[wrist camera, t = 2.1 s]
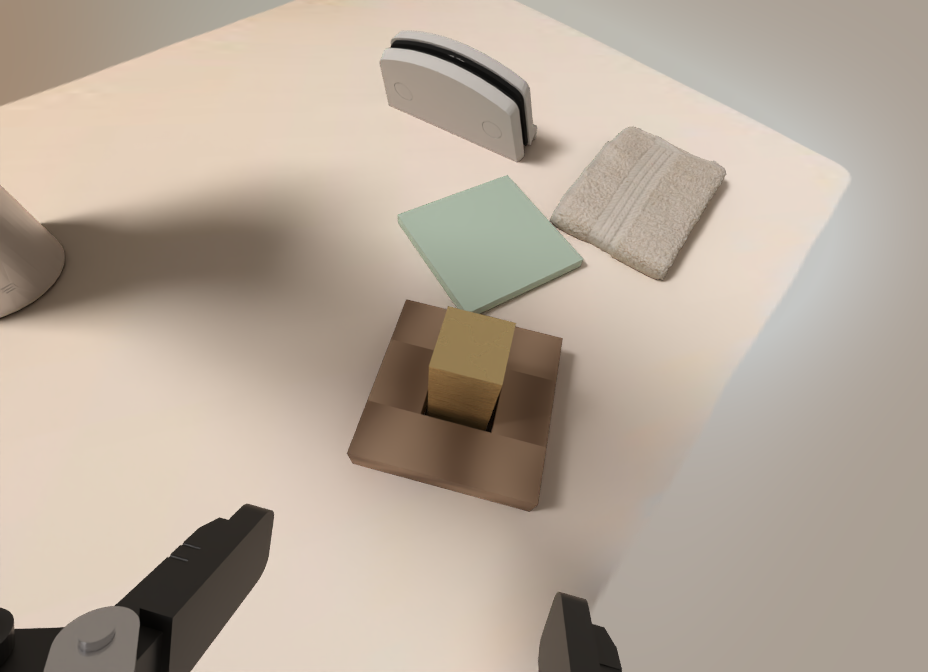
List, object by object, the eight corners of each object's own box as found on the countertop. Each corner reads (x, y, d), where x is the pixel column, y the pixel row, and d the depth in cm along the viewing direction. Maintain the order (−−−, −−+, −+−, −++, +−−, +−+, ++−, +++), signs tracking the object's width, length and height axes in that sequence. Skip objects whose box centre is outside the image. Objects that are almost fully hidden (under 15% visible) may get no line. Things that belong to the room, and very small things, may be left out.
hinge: (539, 138, 48) (547, 62, 39) (518, 172, 47) (521, 104, 38) (412, 83, 51) (389, 1, 42) (390, 115, 51) (363, 38, 41)
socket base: (352, 463, 29) (346, 453, 27) (407, 317, 35) (406, 299, 33) (529, 511, 28) (537, 504, 26) (553, 354, 35) (562, 338, 32)
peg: (427, 422, 31) (428, 366, 23) (442, 373, 33) (448, 306, 25) (482, 437, 31) (502, 385, 23) (494, 386, 33) (515, 323, 25)
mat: (398, 222, 40) (397, 214, 39) (505, 183, 44) (507, 175, 43) (465, 320, 36) (467, 313, 35) (579, 266, 39) (583, 259, 38)
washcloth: (718, 183, 48) (736, 159, 45) (659, 291, 39) (676, 269, 37) (619, 138, 50) (629, 113, 48) (544, 229, 42) (552, 205, 39)
